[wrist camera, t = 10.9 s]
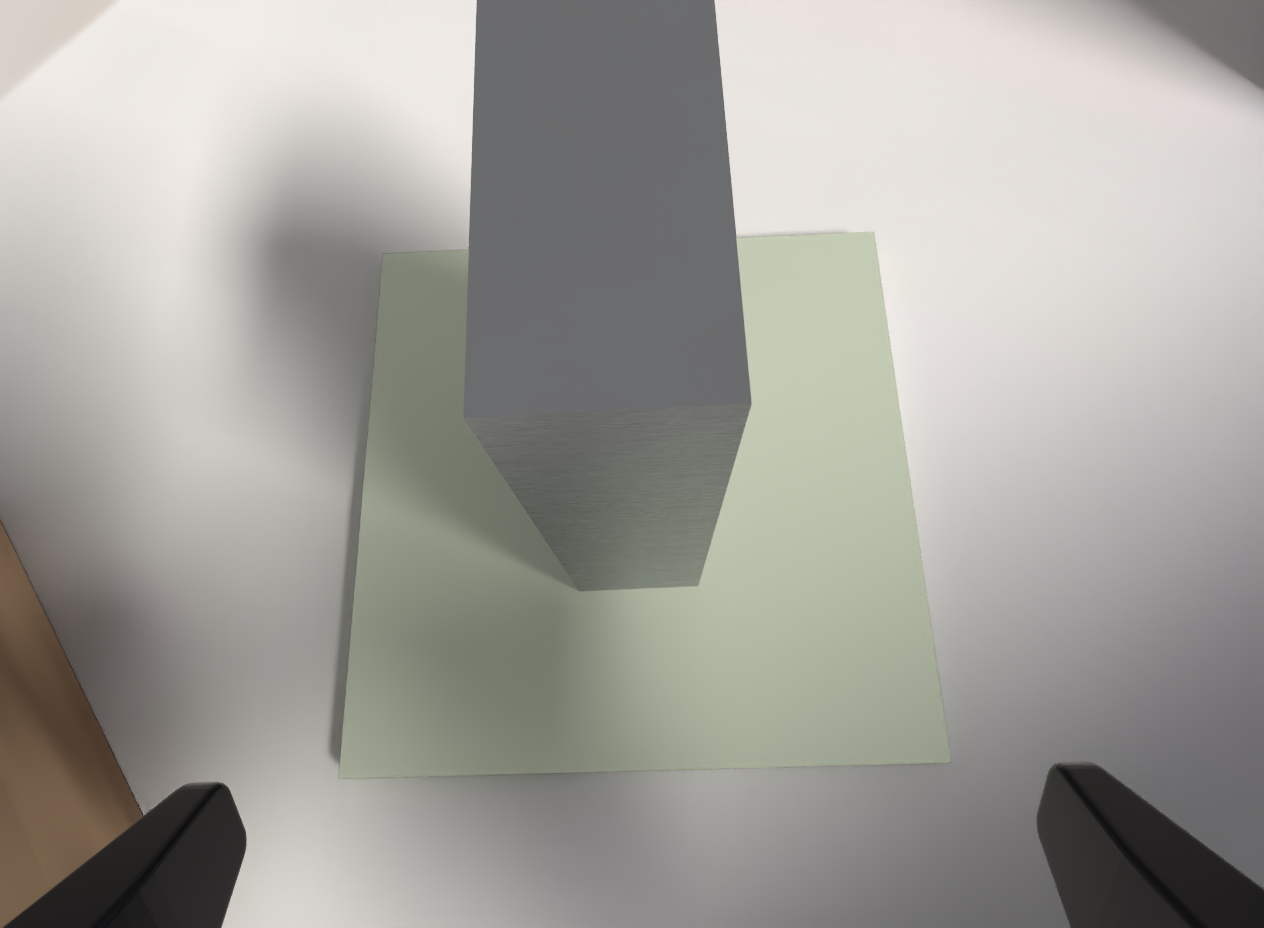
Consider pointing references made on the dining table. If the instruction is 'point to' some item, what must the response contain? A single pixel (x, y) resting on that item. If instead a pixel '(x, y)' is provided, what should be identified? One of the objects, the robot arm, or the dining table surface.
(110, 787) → the slotted box
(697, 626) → the mat
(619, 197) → the gray rectangular block
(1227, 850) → the dining table surface
